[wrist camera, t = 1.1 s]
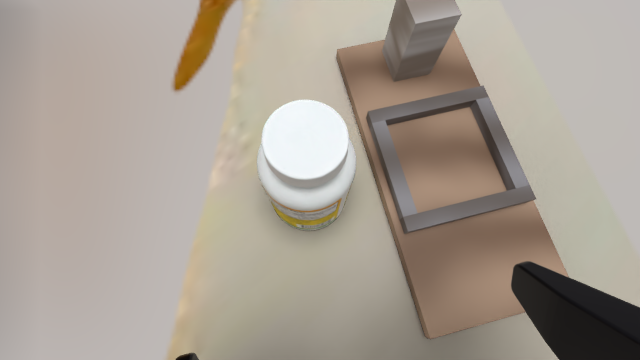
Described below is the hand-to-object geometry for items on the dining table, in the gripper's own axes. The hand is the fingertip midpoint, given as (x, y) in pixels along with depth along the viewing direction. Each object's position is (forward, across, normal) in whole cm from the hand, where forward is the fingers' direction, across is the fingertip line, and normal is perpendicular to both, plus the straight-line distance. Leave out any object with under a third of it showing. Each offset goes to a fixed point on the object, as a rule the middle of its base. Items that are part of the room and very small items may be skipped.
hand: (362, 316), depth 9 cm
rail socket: (+15, -10, +4) cm, 18 cm away
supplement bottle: (+15, 0, +4) cm, 15 cm away
